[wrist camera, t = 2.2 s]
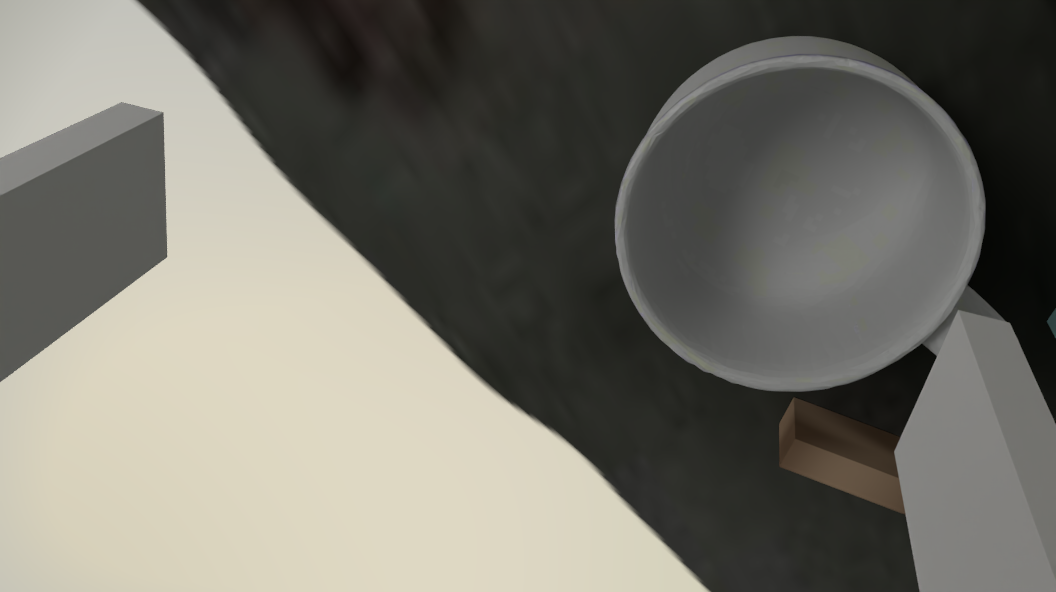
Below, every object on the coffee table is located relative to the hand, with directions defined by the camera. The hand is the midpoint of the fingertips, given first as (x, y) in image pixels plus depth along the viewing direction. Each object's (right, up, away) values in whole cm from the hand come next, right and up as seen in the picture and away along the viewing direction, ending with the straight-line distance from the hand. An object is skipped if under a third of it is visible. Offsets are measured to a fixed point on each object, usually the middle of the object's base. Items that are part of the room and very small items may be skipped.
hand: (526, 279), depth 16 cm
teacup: (+11, +4, +20) cm, 23 cm away
